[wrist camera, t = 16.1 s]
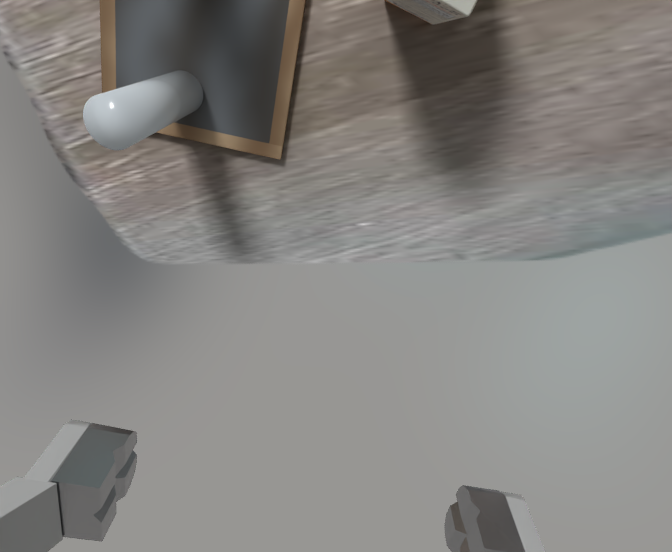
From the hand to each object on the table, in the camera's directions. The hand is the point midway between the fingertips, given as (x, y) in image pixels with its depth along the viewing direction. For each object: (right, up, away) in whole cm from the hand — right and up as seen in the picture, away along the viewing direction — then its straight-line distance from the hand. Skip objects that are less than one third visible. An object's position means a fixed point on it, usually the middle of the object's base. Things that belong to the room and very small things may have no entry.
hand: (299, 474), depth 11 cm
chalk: (-12, +21, +27) cm, 36 cm away
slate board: (-10, +25, +26) cm, 37 cm away
